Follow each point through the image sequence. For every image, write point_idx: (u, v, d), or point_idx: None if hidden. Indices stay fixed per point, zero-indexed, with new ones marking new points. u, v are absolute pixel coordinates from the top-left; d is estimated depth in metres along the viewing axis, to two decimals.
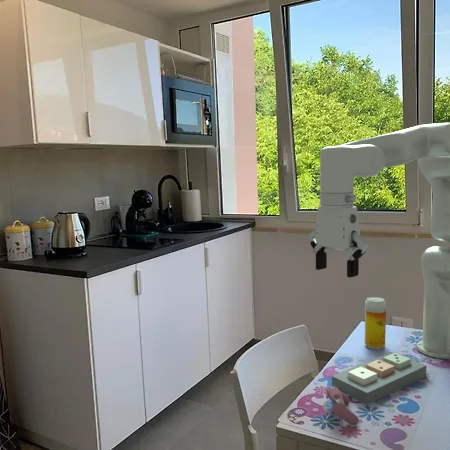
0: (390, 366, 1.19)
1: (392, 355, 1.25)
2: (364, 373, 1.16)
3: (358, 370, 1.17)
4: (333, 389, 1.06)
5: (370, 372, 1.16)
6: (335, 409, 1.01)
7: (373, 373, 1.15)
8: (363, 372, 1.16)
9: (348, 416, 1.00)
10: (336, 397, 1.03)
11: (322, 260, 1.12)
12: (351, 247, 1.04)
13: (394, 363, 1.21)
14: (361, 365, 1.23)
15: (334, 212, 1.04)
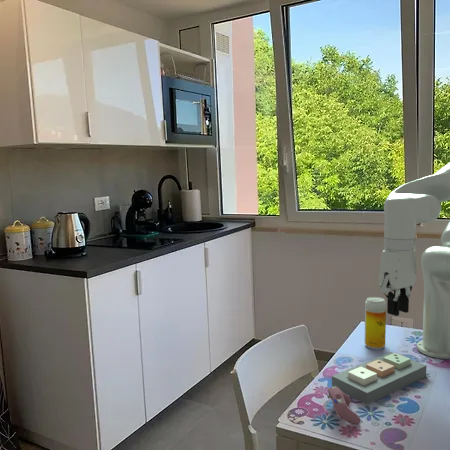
0: (390, 366, 1.19)
1: (392, 355, 1.25)
2: (364, 373, 1.16)
3: (358, 370, 1.17)
4: (335, 389, 1.06)
5: (370, 372, 1.16)
6: (337, 409, 1.01)
7: (373, 373, 1.15)
8: (363, 372, 1.16)
9: (350, 416, 1.00)
10: (338, 397, 1.03)
11: None
12: None
13: (394, 363, 1.21)
14: (361, 365, 1.23)
15: (411, 254, 1.19)
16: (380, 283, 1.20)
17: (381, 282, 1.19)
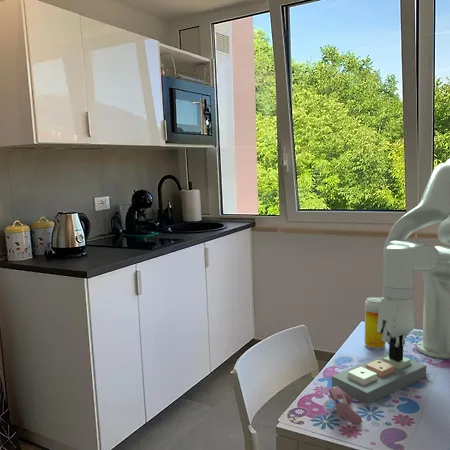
0: (390, 366, 1.19)
1: None
2: (364, 373, 1.16)
3: (358, 370, 1.17)
4: (336, 389, 1.06)
5: (370, 372, 1.16)
6: (338, 409, 1.01)
7: (373, 373, 1.15)
8: (363, 372, 1.16)
9: (351, 415, 1.01)
10: (339, 397, 1.03)
11: None
12: None
13: (394, 364, 1.22)
14: (361, 365, 1.23)
15: (409, 302, 1.20)
16: (378, 330, 1.21)
17: (379, 329, 1.21)
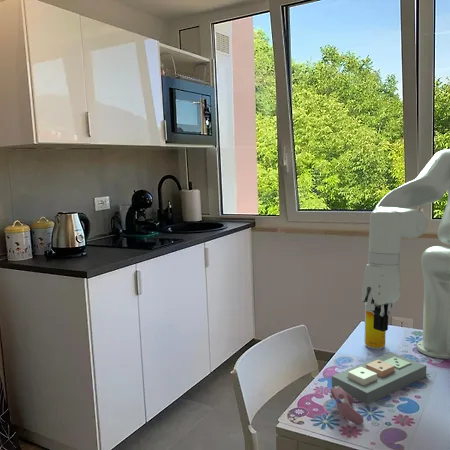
0: (390, 366, 1.19)
1: (392, 359, 1.25)
2: (364, 373, 1.16)
3: (358, 370, 1.17)
4: (337, 389, 1.06)
5: (370, 372, 1.16)
6: (340, 409, 1.01)
7: (373, 373, 1.15)
8: (363, 372, 1.16)
9: (353, 415, 1.01)
10: (341, 397, 1.03)
11: None
12: None
13: (394, 367, 1.22)
14: (361, 365, 1.23)
15: (395, 269, 1.16)
16: (363, 298, 1.16)
17: (364, 297, 1.16)
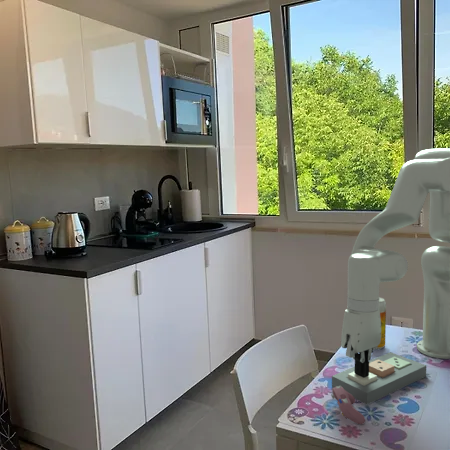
0: (390, 366, 1.19)
1: (392, 359, 1.25)
2: None
3: None
4: (339, 389, 1.06)
5: (370, 374, 1.16)
6: (342, 409, 1.01)
7: (373, 375, 1.15)
8: None
9: (355, 415, 1.01)
10: (342, 397, 1.03)
11: None
12: None
13: (394, 367, 1.22)
14: None
15: (375, 315, 1.13)
16: (342, 345, 1.13)
17: (343, 344, 1.13)
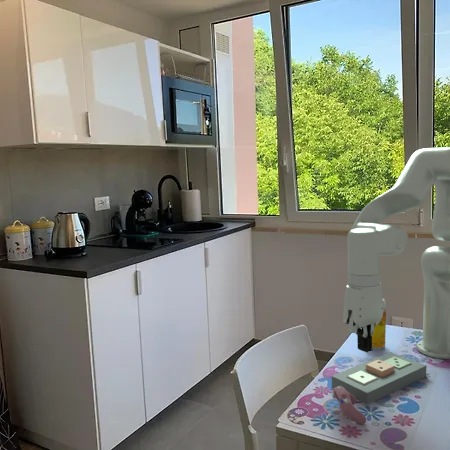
0: (390, 366, 1.19)
1: (392, 359, 1.25)
2: (364, 377, 1.16)
3: (358, 374, 1.17)
4: (340, 389, 1.06)
5: (370, 376, 1.16)
6: (343, 409, 1.01)
7: (373, 377, 1.15)
8: (363, 376, 1.16)
9: (356, 415, 1.01)
10: (343, 397, 1.03)
11: None
12: None
13: (394, 367, 1.22)
14: (361, 365, 1.23)
15: (376, 289, 1.12)
16: (344, 320, 1.13)
17: (345, 319, 1.13)
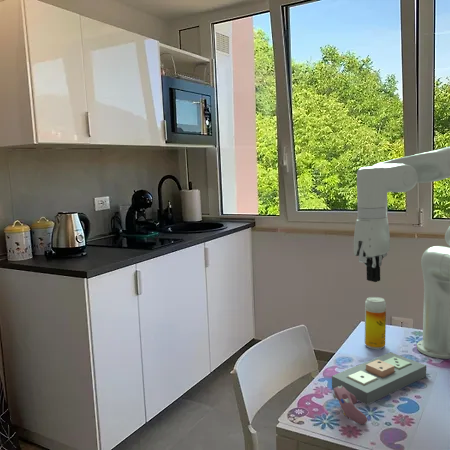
0: (390, 366, 1.19)
1: (392, 359, 1.25)
2: (364, 377, 1.16)
3: (358, 374, 1.17)
4: (341, 389, 1.06)
5: (370, 376, 1.16)
6: (344, 409, 1.01)
7: (373, 377, 1.15)
8: (363, 376, 1.16)
9: (356, 415, 1.01)
10: (344, 397, 1.03)
11: None
12: None
13: (394, 367, 1.22)
14: (361, 365, 1.23)
15: (384, 222, 1.22)
16: (355, 252, 1.22)
17: (356, 251, 1.22)
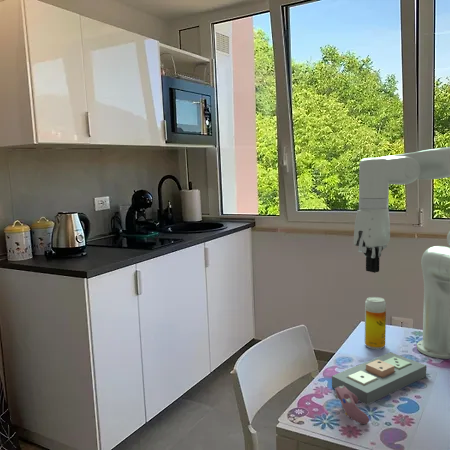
0: (390, 366, 1.19)
1: (392, 359, 1.25)
2: (364, 377, 1.16)
3: (358, 374, 1.17)
4: (342, 389, 1.06)
5: (370, 376, 1.16)
6: (345, 408, 1.01)
7: (373, 377, 1.15)
8: (363, 376, 1.16)
9: (358, 415, 1.01)
10: (346, 396, 1.03)
11: None
12: None
13: (394, 367, 1.22)
14: (361, 365, 1.23)
15: (384, 213, 1.23)
16: (355, 242, 1.24)
17: (356, 241, 1.23)
